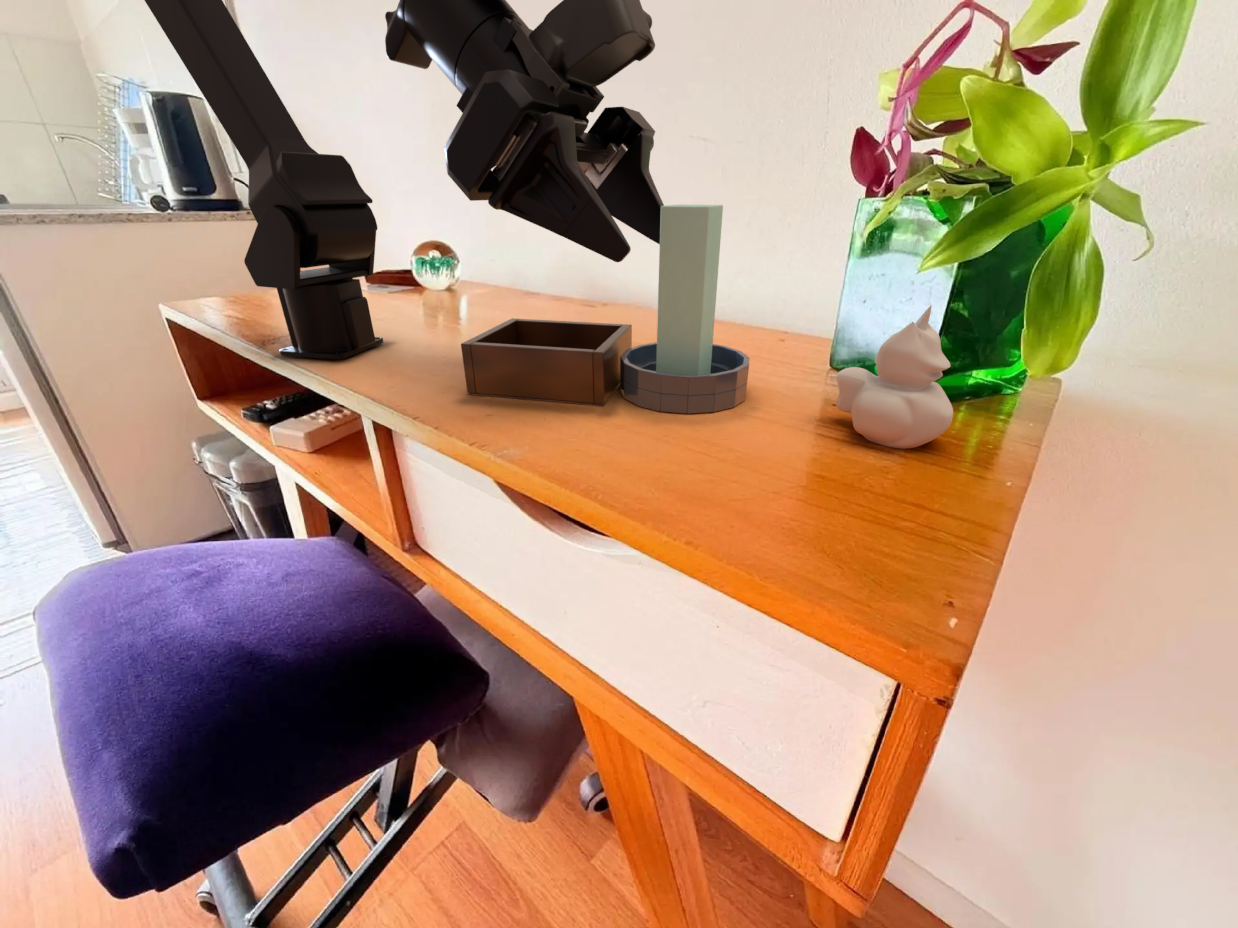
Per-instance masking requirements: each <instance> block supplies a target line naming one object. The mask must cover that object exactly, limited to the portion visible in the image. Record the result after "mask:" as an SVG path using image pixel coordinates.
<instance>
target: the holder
mask: <svg viewBox="0 0 1238 928" xmlns="http://www.w3.org/2000/svg"><path fill="white" fill-rule="evenodd" d="M632 335H633V326H632V324H628V323H624V324H623V323H608V322H588V321H571V320H551V319H550V320H549V319H533V318H532V319H529V318H513V317H511V318H509V319H508V320H506V321H504V322H502V323H500V324H497V325H496V326H494V327H492V328H490V329H488V330H486V331H483V332H482V333H479V334H478V335H476V336H473V337H472V338H470V339H468V340H465V341H464V342H461V343H460V347H461V355H462V363H463V364H462V365H463V370H464V378H465V385H466V392H467V395H468V396H475V397H486V398H498V399H499V398H500V399H509V400H522V401H533V402H543V403H545V402H546V403H555V404H567V405H578V406H591V407H605V406H606V405H607V403H608V402H610V400H611V398H612V397H613V396H614V394H616V392H617V391H618V389H620V356H621V355H622V354H623V353H624V352H625V351H626V350H628V349H630V348H633V347H632V346H633V345H632V344H633V342H632V340H633V338H632V337H633V336H632Z"/></svg>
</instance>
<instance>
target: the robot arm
mask: <svg viewBox="0 0 1238 928" xmlns="http://www.w3.org/2000/svg"><path fill="white" fill-rule="evenodd" d="M144 2H145V4H146V5H147V7H148V9H149V10H150V12H151V13H152V15H153V17H154V18H155V20H156V21H157V23H158V25H159V26H160V28H161V29H162V31H163V33H164V34H165V36H166V37H167V39H168V41H169V43H170V44H171V45H172V47H173V49H174V50H175V52H176V54H177V56H178V57H179V58H180V60H181V62H182V64H183V65H184V67H185V68H186V70H187V71H188V73H189V75H190V76H191V78H192V79H193V81H194V83H195V85H196V86H197V87H198V89H199V91H200V92H201V94H202V95H203V97H204V99H205V101H206V102H207V103H208V105H209V107H210V108H211V111H212V112H213V113H214V115H215V116H216V118H217V120H218V121H219V123H220V124H221V126H222V128H223V129H224V131H225V133H226V134H227V136H228V137H229V139H230V140H231V141H230V142H232V144H233V146H234V148H235V149H236V151H237V152H238V154H239V155H240V157H241V158H242V160H243V162H244V163H245V166H246V167H247V169H248V186H247V187H248V189H247V190H248V191H247V194H248V195H247V204H248V208H249V209H250V211H251V214H252V215H253V218H254V219H255V221H256V226H255V227H256V228H255V230H254V232H253V236H252V238H251V241H250V244H249V246H248V249H247V252H246V254H245V257H244V260H243V262H244V265H245V267H246V269H247V271H248V273H249V274H250V275H249V276H251V279H252V280H253V282H254V284H255V286H256V287H261V288H273V289H276V291H277V295H278V298H279V302H280V305H281V309H282V313H283V317H284V320H285V324H286V327H287V331H288V335H289V338H290V342H291V345H290V346H287V347H284V348H280V349H279V355H280V356H282V357H283V356H285V357H295V358H311V359H321V360H344V359H346V358H348V357H351V356H353V355H356V354H359V353H361V352H363V351H366V350H368V349H372V348H374V347H376V346H379V345H381V344H383V343H384V337H382V336H375V332H374V327H373V322H372V316H371V310H370V308H369V301H368V299H367V297H366V296H364V295H363V290H362V285H361V280H360V279H359V278H363V277H366V278H368V277H373V276H374V268H375V267H374V266H375V254H376V240H377V230H378V223H377V220H376V218H375V215H374V213H373V210H372V208H371V207H370V205H369V204H373V202H374V201H373V198H372V197H370V196H369V195H368V193H366V192H365V190H364V189H363V187H362V186H361V185H360V183H359V181H358V179H357V176H356V174H355V172H354V170H353V168H352V165H351V164H350V163H349V161H348V160H347V159H346V158H345V156H343V155H341V154H328V153H318V152H317V151H316V150H315V149H314V148H312V147H311V146H310V144H308V142H307V141H306V139H305V138H304V137H303V135H302V133H301V131H300V130H299V127H298V126H297V124H296V123H295V120H294V119H293V117H292V116H291V114H290V113H289V111H288V109H287V107H286V106H285V104H284V102H283V101H282V99H281V97H280V95H279V93H278V92H277V91H276V89H275V87H274V86H273V84H272V82H271V80H270V79H269V77H268V76H267V73H266V72H265V70H264V69H263V67H262V65H261V63H260V62H259V60H258V58H257V57H256V55H255V53H254V51H253V50H252V48H251V47H250V45H249V43H248V41H247V39H246V38H245V36H244V34H243V33H242V32H241V30H240V27H239V26H238V25H237V22H236V21H235V19H234V18H233V16H232V14H231V12H230V11H229V9H228V7H227V6H226V4H225V3H224V0H144ZM384 19H385V22H386V34H385V36H384V37H385V39H384V42H385V54H386V57H387V58H388V60H390V61H392V62H395V63H399V64H404V65H407V66H410V67H411V66H412V67H415V68H419V69H422V70H423V69H424V70H427V69H429V68H430V66H431V64H432V61H433V63H434V64H435V65H436V66H437V68H438V69H439V70H440V71H441V72H442V73H443V75H445V77H446V78H447V79H448V80H449V81H450V82H451V84H452V85H453V86H454V87H455V89H456V90H457V91H458V92H459V93H460V94H461V96H460V98H459V100H458V102H457V104H456V107H457V108H458V109H459V110H460V112H461V113H462V114H461V115H460V116H459V119H458V121H457V123H456V124H455V126H454V128H453V130H452V132H451V133H450V135H449V137H448V139H447V140H446V142H445V144H444V146H443V150H444V156H445V164H446V166H445V167H446V172H447V175H448V177H449V178H450V179H451V180H452V181H453V182H454V184H455V185H456V186H457V187H458V189H460V190H461V192H462V193H463V194H464V195H465V197H467V199H468V200H469V201H471V202H472V201H473V202H474V201H487V203H488V205H489V206H490V207H491V208H492V209H494V210H498V211H499V210H501V211H503V212H506V213H507V214H510V215H513V216H516V217H518V218H520V219H522V220H525V221H526V222H529V223H532V224H534V225H536V226H538V227H541V228H542V229H545V230H547V231H549V232H552V233H554V234H556V235H558V236H559V237H562V238H565V239H567V240H569V241H571V242H573V243H575V244H577V245H579V246H582V247H583V248H586V249H588V250H590V251H592V252H594V253H595V254H598V255H600V256H602V257H604V258H606V259H608V260H610V261H613V262H615V263H621V262H623V261H624V260H625V258H626V257H627V256H628V255H629V254H630V253H631V246H630V244H629V242H628V240H627V238H626V237H625V235H624V234H623V232H622V230H621V229H620V227H619V225H618V224H617V222H616V220H618V221H619V222H621V223H623V224H624V225H626V226H628V227H629V228H630V229H632V230H634V231H636V232H638V233H639V234H641V235H643V236H644V237H645V238H647V239H649V240H650V241H652V242H655V243H656V244H658V245H660V216H661V206H665V204H664V202H663V200H662V198H661V195H660V193H659V191H658V189H657V186H656V184H655V182H654V179H653V176H652V174H651V171H650V161H651V152H652V150H653V149H654V145H655V139H654V137H655V134H656V131H655V129H654V128H653V127H652V125H651V124H650V123H649V122H648V121H647V120H646V118H645V117H644V115H643V114H642V113H641V112H640V111H637V110H634V109H631V108H628V107H625V106H610V107H609V106H608V107H604V108H603V110H602V111H601V113H600V114H599V116H598V117H597V118H596V120H595V121H594V122H593V124H592V126H591V127H590V128H589V129H588V131H587V132H585V131H586V130H587V128H588V126H589V123H590V120H589V119H588V118H587V117H588V116H589V114H590V113H594V112H595V111H596V110H597V108H598V107H599V105H600V104H601V103H602V101H603V99H604V98H605V95H604V94H603V92H601V91H600V89H599V88H598V86H600V85H603V84H604V83H606V82H607V81H609V80H610V79H611V78H613V77H614V76H616V75H617V74H619V73H620V72H621V71H623V70H624V69H625V68H627V67H628V66H630V65H631V64H632V63H634V62H635V61H637V62H641V61H643V60H645V59H646V58H647V57H648V56H650V55H651V54H652V52H654V50H655V49H656V43H655V40H654V36H653V35H652V32H651V29H652V26H653V18H652V16H651V15H650V14H649V13H648V12H646V11H645V10H644V9H643V6H642V3H641V0H562V1H560V3H558V4H557V5H555V6H554V7H553V8H552V9H551V10H550V11H548V13H547V14H546V15H545V16H544V18H543V20H542V21H541V22H540V23H539V24H538V25H537V26H536V27H535V28H534V29H531V28H529V26H528V25H527V24H526V23H525V22H524V20H523V19H522V18H521V17H520V15H519V14H518V13H517V12H516V10H515V9H513V7H512V6H511V5H510V3H509V2H508V1H507V0H399V1H398V4H397V7H396V9H395V10H393V11H386V12H385V14H384ZM614 218H615V219H616V220H615V219H614ZM323 266H326V267H323ZM315 267H319V268H315ZM308 268H313V269H308ZM301 269H306V270H301Z"/></svg>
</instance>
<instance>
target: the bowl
mask: <svg viewBox="0 0 1238 928" xmlns="http://www.w3.org/2000/svg"><path fill="white" fill-rule="evenodd" d="M656 354H657V341H656V342H650V343H643V344H639V345H636V346H633V347H632V348H630V349H628V350H626V351H625V352H624V353H623V354H622V355H621V356H620V386H619V389H620V392H621V394H622V396H623V398H624V399H625V400H626V401H629V402H630V403H632V404H634V405H635V406H636V407H637V406H638V407H641V408H644V409H648V410H652V411H655V412H661V413H662V412H663V413H673V414H684V415H685V414H687V415H688V414H689V415H690V414H705V413H716V412H720V411H725V410H728V409H732V408H735V407H737V406H738V405H739V404H741V403H743V402H744V401H745V400H746V398H747V391H748V389H747V388H748V379H749V371H750V361H751V359H750V358H751V357H750V356H749V355H747V354H746V353H745V352H743V351H741V350H739V349H736V348H732V347H730V346H727V345H723V344H717V343H713V345H712V359H711V372H710V374H697V375H683V374H669V373H660V372H656Z"/></svg>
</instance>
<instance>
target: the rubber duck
mask: <svg viewBox="0 0 1238 928" xmlns="http://www.w3.org/2000/svg"><path fill="white" fill-rule="evenodd" d="M931 313H932V305H930V306H929V307H928V308H927V309H926V310H925V311H924V312H923V313H922V315H921V316H920V317H919V318H918V319H917V320H916V322H914V321H912V322H911V323H909V324H907V325H906V326H905V327H903V328H902V329H901V330H900V331H898V332H895V333H894V334H892V335H891V336H890V337H889V338H887V339H886V340H885V341H884V342H883V343H882V344H881V345H880V347H879V349H878V352H877V353H876V356H875V364H876V369H877V370H876V371H877V375H876V374H874V373H872V372H871V371H869V370H868V369H866V368H862V367H859V366H849V367H845V368H843V369H841V370H839V372H838V373H837V374H836V382H837V386H838V396H837V398H836V401H835V407H836V408H837V409H838V411H841V412H844V413H847V414H850V416H851V420H852V426H853V429H854V430H855V432H856V433H858V434H859V435H862V436H863V437H864V438H865V439H866V440H867V441H869V442H872V443H875V444H879V445H881V446H885V447H888V448H892V449H893V448H894V449H901V450H902V449H903V450H906V449H914V448H917V447H921V446H923V445H925V444H928V443H930V442H931V441H934V440H935V439H937V438H938V437H940V436H942V435H943V434H944V433H945V432H946V431H947V430H948V429H949V428H950V427H951V424H952V421H953V418H954V408H953V405H952V403H951V401H950V399H949V397H948V395H947V394H946V392H945V390H944V389H943V387H942V386H941V385H940V384H939V383H938V382H936V381H937V380H939V379H941V378H942V377H943V376H944V374H943V371H946V370H948V369H949V368H951V362H950V361H949V360H948V358H947V357H946V355H945V354H944V352H943V351H942V344H941V343H942V341H941V337H940V334H939V333H938V331H936V330H935V329H934V327H932V325H931V324H930V323H929V322H930V318H931Z"/></svg>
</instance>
